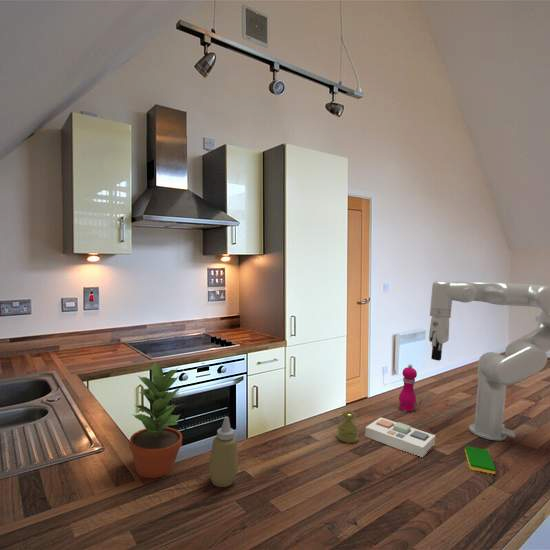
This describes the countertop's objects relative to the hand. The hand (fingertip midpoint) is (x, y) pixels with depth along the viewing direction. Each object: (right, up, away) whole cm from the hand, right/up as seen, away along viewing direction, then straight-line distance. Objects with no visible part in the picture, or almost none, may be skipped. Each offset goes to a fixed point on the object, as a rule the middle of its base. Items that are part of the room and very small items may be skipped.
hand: (436, 359), depth 154 cm
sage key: (-17, -24, -11) cm, 32 cm away
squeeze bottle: (-77, -24, -45) cm, 93 cm away
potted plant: (-97, -23, -41) cm, 108 cm away
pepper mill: (-5, -26, +19) cm, 33 cm away
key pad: (-18, -27, -12) cm, 35 cm away
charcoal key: (-12, -26, -15) cm, 33 cm away
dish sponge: (+4, -29, -24) cm, 38 cm away
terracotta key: (-22, -25, -7) cm, 34 cm away
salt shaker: (-37, -26, -14) cm, 47 cm away
